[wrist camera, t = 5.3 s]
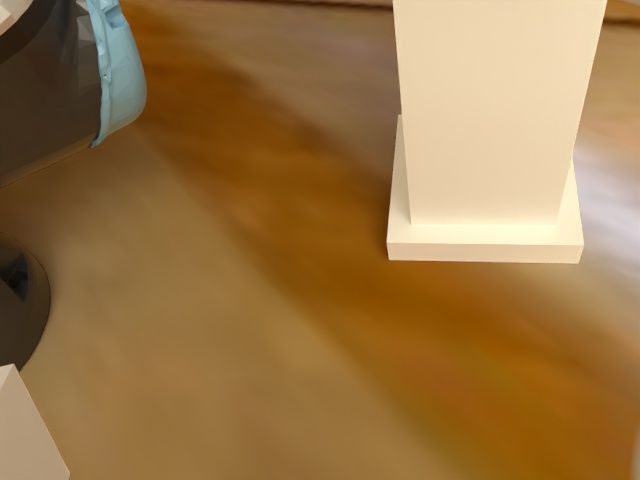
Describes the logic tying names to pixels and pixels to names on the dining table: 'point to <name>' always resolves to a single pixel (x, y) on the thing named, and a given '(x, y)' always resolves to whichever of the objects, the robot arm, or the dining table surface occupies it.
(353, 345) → the dining table surface
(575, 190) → the white pedestal
